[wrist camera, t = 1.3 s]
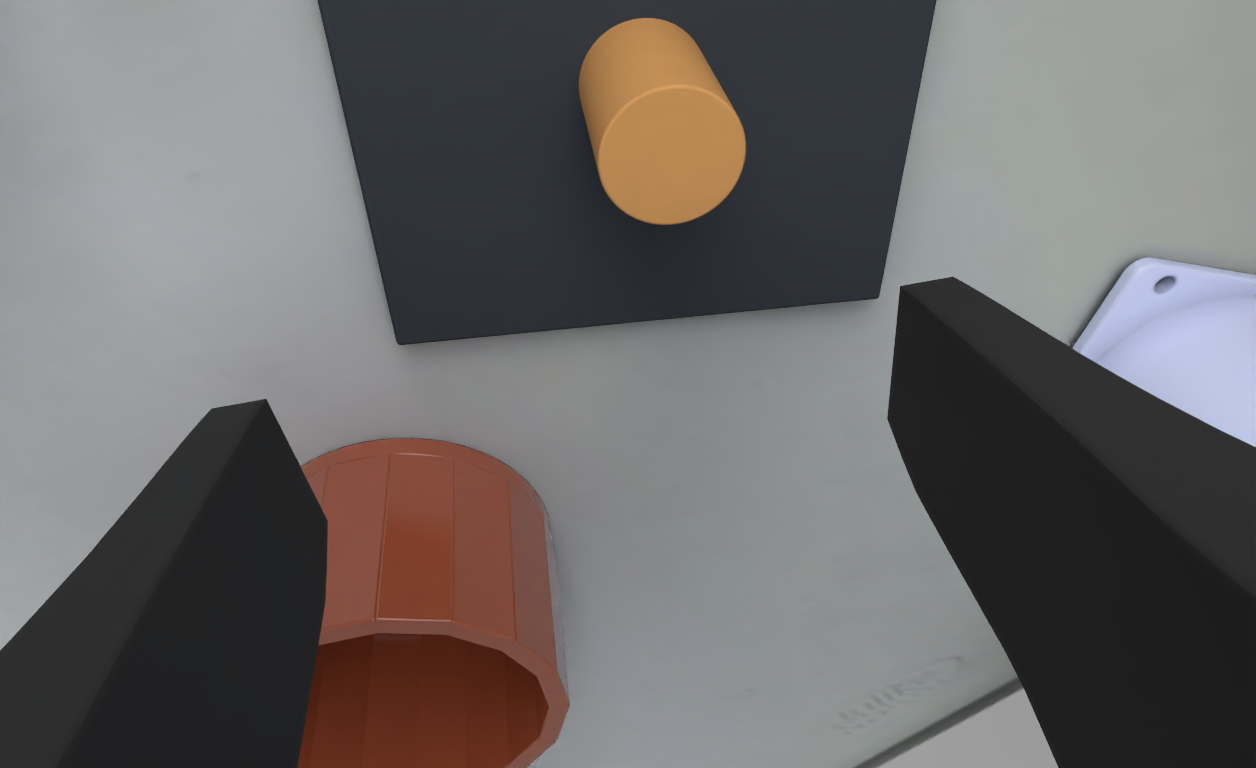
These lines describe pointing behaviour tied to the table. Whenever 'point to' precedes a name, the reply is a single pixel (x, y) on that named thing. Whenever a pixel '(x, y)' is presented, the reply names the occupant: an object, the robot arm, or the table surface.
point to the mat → (540, 183)
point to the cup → (433, 612)
